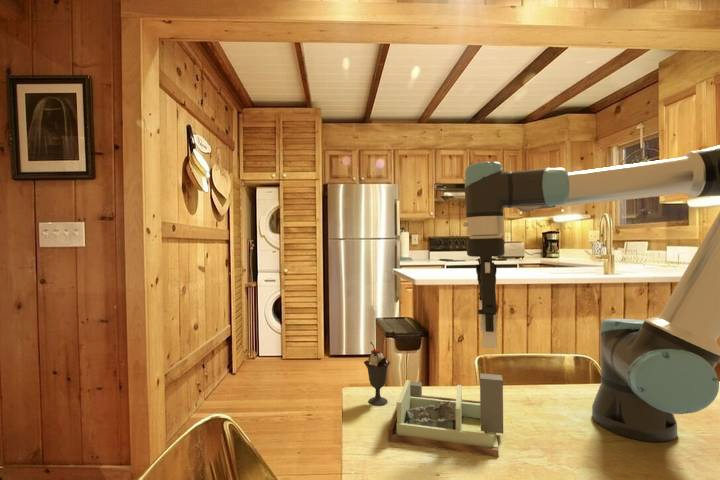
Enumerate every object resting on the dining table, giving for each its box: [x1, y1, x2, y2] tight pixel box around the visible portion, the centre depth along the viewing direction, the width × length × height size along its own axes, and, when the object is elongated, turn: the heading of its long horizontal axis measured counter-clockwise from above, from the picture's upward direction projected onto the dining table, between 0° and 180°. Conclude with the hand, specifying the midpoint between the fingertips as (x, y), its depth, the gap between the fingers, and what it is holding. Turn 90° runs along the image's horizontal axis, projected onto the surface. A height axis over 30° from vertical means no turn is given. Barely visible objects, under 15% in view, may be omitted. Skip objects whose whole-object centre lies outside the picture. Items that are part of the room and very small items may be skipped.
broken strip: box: [410, 380, 480, 404], centre depth 92 cm, size 18×3×5 cm, turn 74°
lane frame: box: [387, 394, 500, 458], centre depth 84 cm, size 21×21×2 cm
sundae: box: [363, 341, 391, 407], centre depth 96 cm, size 7×7×15 cm
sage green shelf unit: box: [396, 373, 504, 450], centre depth 81 cm, size 21×14×12 cm, turn 74°
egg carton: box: [406, 401, 456, 430], centre depth 83 cm, size 11×8×4 cm
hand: (488, 338), depth 79 cm, fingers open, 13 cm apart
